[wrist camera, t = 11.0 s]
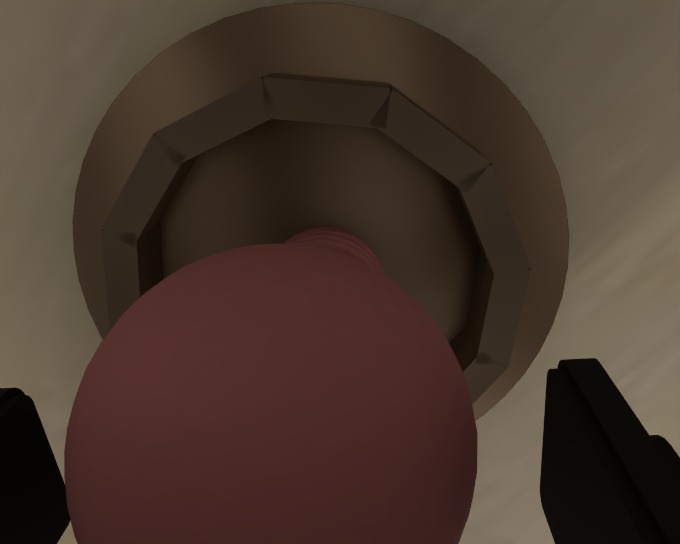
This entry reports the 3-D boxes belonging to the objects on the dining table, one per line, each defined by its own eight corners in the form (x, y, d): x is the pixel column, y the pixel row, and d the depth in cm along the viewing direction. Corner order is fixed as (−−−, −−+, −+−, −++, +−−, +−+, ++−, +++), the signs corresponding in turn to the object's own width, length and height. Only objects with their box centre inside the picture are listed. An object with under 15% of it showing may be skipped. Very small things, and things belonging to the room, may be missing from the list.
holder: (456, -107, 15) (477, -140, 12) (614, 365, 20) (654, 417, 17) (-11, 148, 18) (-79, 168, 15) (232, 497, 23) (214, 558, 21)
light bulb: (164, 236, 18) (-168, 545, 7) (350, 111, 16) (311, 253, 5) (290, 395, 20) (194, 832, 9) (468, 300, 18) (623, 694, 7)
